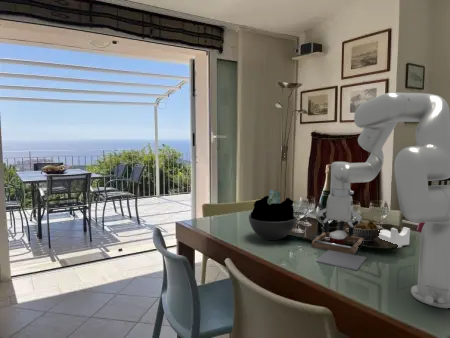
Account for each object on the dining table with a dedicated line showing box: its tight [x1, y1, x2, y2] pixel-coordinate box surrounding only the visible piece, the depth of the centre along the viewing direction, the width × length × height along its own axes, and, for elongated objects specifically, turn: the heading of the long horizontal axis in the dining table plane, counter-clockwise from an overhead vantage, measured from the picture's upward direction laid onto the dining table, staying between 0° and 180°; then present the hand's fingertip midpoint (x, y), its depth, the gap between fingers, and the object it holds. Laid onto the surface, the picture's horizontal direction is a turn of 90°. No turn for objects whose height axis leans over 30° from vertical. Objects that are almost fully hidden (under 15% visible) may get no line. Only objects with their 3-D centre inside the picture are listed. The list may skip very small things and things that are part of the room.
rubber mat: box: [315, 250, 367, 272], centre depth 124 cm, size 14×14×1 cm
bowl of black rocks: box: [248, 195, 297, 241], centre depth 148 cm, size 20×20×19 cm
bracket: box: [378, 226, 411, 248], centre depth 145 cm, size 13×7×8 cm, turn 17°
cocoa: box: [329, 221, 347, 245], centre depth 140 cm, size 10×6×12 cm, turn 115°
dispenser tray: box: [311, 231, 364, 255], centre depth 140 cm, size 16×16×3 cm
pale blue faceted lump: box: [267, 189, 281, 205], centre depth 186 cm, size 18×20×18 cm
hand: (338, 234), depth 140 cm, fingers open, 9 cm apart
